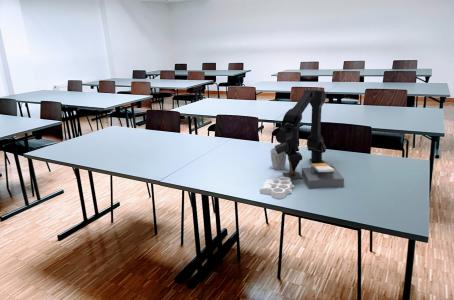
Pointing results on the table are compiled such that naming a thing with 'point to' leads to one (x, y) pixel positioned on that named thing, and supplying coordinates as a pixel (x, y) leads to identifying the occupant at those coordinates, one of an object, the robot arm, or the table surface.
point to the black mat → (297, 176)
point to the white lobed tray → (277, 187)
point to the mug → (278, 159)
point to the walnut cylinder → (291, 173)
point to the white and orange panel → (322, 167)
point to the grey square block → (322, 178)
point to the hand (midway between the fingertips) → (292, 167)
